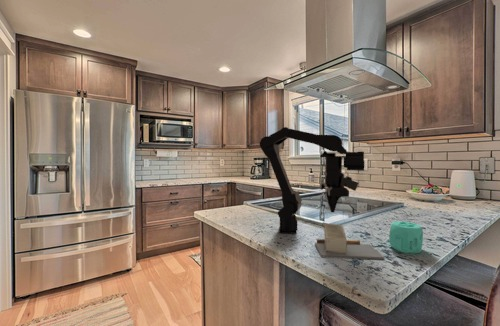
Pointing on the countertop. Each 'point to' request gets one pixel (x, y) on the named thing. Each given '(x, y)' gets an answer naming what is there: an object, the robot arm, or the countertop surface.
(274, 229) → the countertop surface
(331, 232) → the skincare box
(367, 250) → the rubber mat
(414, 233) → the decorative dice
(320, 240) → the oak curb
